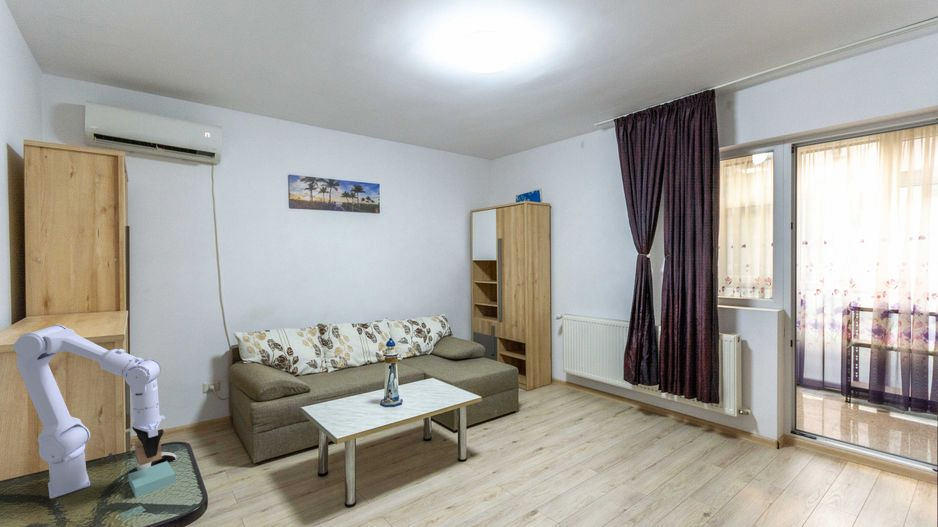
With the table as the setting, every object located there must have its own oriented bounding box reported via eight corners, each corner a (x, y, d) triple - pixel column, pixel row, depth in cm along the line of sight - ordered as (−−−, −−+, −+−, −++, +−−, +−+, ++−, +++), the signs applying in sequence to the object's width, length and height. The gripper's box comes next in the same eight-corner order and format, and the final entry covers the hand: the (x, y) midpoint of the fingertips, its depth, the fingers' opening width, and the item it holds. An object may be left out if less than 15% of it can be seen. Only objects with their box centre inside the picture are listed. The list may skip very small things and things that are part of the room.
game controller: (148, 475, 123) (136, 458, 123) (139, 485, 124) (126, 469, 125) (179, 457, 132) (167, 441, 132) (170, 467, 133) (158, 451, 134)
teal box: (129, 484, 120) (128, 474, 120) (167, 470, 127) (167, 461, 126) (135, 498, 114) (134, 488, 114) (175, 483, 120) (175, 473, 120)
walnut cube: (135, 458, 120) (134, 441, 119) (157, 451, 123) (156, 435, 123) (139, 465, 116) (138, 448, 116) (161, 458, 120) (160, 441, 119)
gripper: (170, 408, 116) (173, 456, 118) (157, 393, 126) (160, 438, 128) (137, 417, 111) (141, 467, 113) (127, 400, 121) (130, 447, 123)
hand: (149, 452), depth 120 cm, fingers closed on walnut cube, 5 cm apart
